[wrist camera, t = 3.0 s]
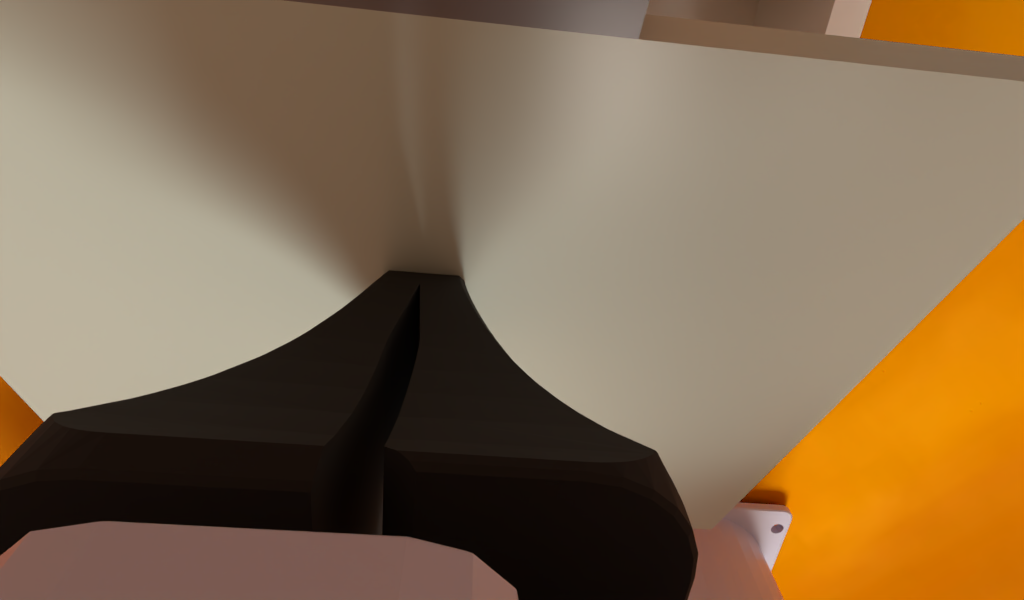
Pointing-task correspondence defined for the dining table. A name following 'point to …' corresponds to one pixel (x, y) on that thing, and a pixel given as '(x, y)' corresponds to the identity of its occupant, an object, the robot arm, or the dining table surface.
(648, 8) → the storage box
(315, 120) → the box lid
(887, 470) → the dining table surface
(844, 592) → the dining table surface
